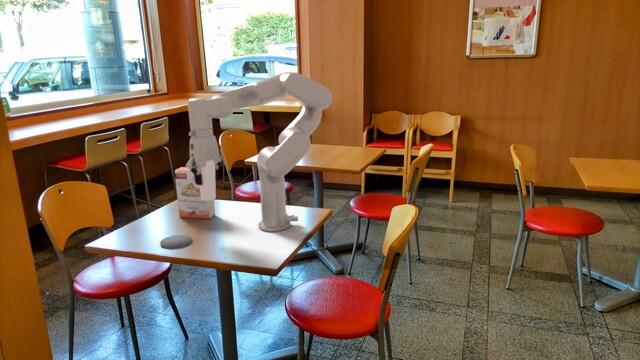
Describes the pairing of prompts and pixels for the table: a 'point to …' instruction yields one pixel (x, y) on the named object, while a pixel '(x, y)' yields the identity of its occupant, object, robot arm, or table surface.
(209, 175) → the drinking glass
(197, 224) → the table surface
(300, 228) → the table surface
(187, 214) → the cracker box
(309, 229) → the table surface
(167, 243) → the coaster
